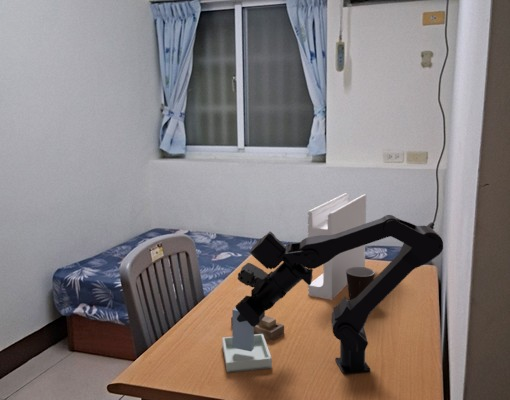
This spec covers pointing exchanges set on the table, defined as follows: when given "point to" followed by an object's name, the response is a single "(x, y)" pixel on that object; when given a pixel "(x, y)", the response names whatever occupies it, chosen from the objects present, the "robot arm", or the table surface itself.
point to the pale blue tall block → (242, 333)
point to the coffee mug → (358, 280)
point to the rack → (269, 331)
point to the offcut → (268, 323)
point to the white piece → (332, 222)
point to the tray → (246, 355)
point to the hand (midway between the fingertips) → (239, 318)
